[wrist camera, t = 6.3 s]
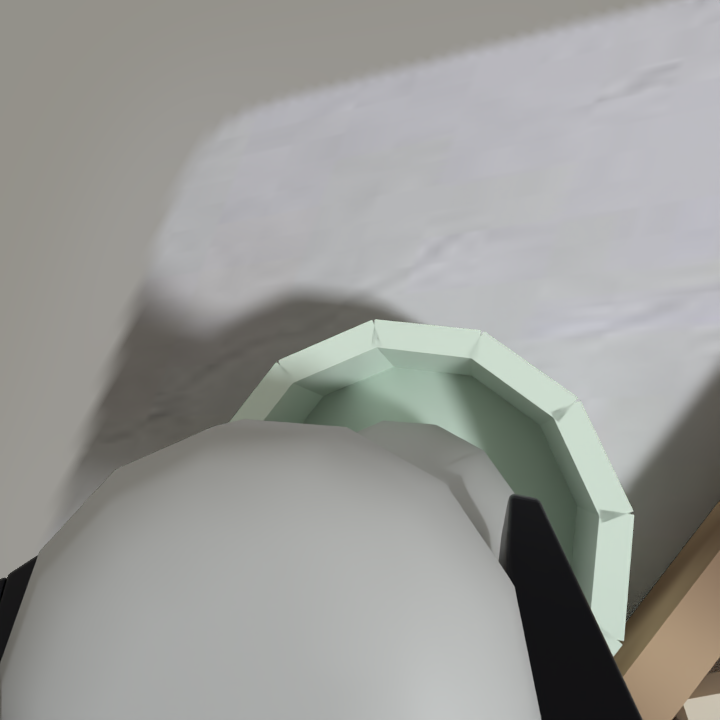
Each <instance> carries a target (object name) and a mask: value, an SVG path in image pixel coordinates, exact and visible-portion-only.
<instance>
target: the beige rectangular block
mask: <svg viewBox="0 0 720 720" xmlns="http://www.w3.org/2000/svg"><path fill="white" fill-rule="evenodd" d="M676 716H677V719H678V720H720V671H719V672H713V673H708V674H707V675H706V676H705V677H704V678H703V680H702V681H701V682H700V684H699V685H698V686H697V688H696V689H695V690H694V692H693V693H692V694H691V696H690V697H689V698H688V699H687V701H686V702H685V703H684V705H683V706H682V707H681V709H680V710H679V711H678V713H677V714H676Z"/></svg>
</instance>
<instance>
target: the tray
mask: <svg viewBox="0 0 720 720" xmlns="http://www.w3.org/2000/svg"><path fill="white" fill-rule="evenodd" d="M619 641H620V642H621V643H622V644H623V645H622V646H621V648H620V649H619V650H618V651H617V653H616V654H615V655H614V659H615V661H616V664H617V666H618V668H619V670H620V672H621V674H622V676H623V678H624V681H625V683H626V685H627V687H628V689H629V691H630V693H631V696H632V698H633V700H634V702H635V704H636V706H637V708H638V710H639V713H640V715H641V717H642V719H643V720H672V719H673V718H674V717H675V715H676V714H677V713H678V711H679V710H680V709H681V707H682V706H683V705H684V703H685V702H686V701H687V699H688V698H689V697H690V696H691V694H692V693H693V692H694V690H695V689H696V688H697V686H698V685H699V684H700V682H701V681H702V680H703V678H704V677H705V676H706V675H707V673H708V672H709V671H710V669H711V668H712V667H713V665H714V664H715V663H716V661H717V660H718V659H719V658H720V501H719V502H718V503H717V504H716V506H715V507H714V508H713V510H712V511H711V512H710V514H709V515H708V516H707V518H706V519H705V520H704V521H703V523H702V524H701V525H700V527H699V528H698V529H697V531H696V532H695V533H694V535H693V536H692V537H691V538H690V540H689V541H688V542H687V544H686V545H685V546H684V548H683V549H682V550H681V551H680V553H679V554H678V555H677V557H676V558H675V559H674V561H673V562H672V563H671V565H670V566H669V567H668V568H667V570H666V571H665V572H664V574H663V575H662V576H661V578H660V579H659V580H658V582H657V583H656V584H655V585H654V587H653V588H652V589H651V591H650V592H649V593H648V595H647V596H646V597H645V598H644V600H643V601H642V602H641V604H640V605H639V606H638V608H637V609H636V610H635V612H634V613H633V614H632V615H631V617H630V618H629V619H628V621H627V622H626V623H625V635H624V641H621V640H619Z"/></svg>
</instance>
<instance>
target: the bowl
mask: <svg viewBox="0 0 720 720" xmlns="http://www.w3.org/2000/svg"><path fill="white" fill-rule="evenodd" d="M279 363H280V364H279ZM279 363H277V362H276V363H275V364H274V365H273V367H272V368H271V369H270V370H269V372H268V373H267V374H266V375H265V377H264V378H263V379H262V381H261V382H260V383H259V384H258V386H257V387H256V388H255V390H254V391H253V392H252V393H251V395H250V396H249V397H248V398H247V400H246V401H245V402H244V404H243V405H242V406H241V407H240V409H239V410H238V411H237V413H236V414H235V415H234V416H233V418H232V419H231V420H230V422H233V421H238V420H242V419H250V420H263V421H276V422H289V423H301V424H314V425H327V426H340V427H347V428H349V429H351V430H353V431H354V432H358V431H360V430H362V429H365V428H367V427H369V426H372V425H374V424H376V423H379V422H381V421H396V422H409V423H422V424H435V425H438V426H440V427H441V428H443V429H445V430H447V431H449V432H451V433H452V434H454V435H456V436H458V437H460V438H462V439H463V440H465V441H467V442H469V443H471V444H473V445H474V446H476V447H478V448H480V449H482V450H484V452H485V453H486V454H487V456H488V457H489V459H490V460H491V461H492V463H493V464H494V465H495V467H496V468H497V470H498V471H499V472H500V474H501V475H502V477H503V478H504V479H505V481H506V482H507V484H508V485H509V486H510V488H511V489H512V491H513V492H514V493H515V494H518V495H523V496H529V497H534V498H537V499H538V500H539V501H540V502H541V504H542V506H543V508H544V510H545V512H546V514H547V517H548V519H549V521H550V523H551V525H552V527H553V529H554V531H555V534H556V536H557V538H558V540H559V542H560V544H561V546H562V548H563V551H564V553H565V555H566V557H567V559H568V561H569V563H570V566H571V568H572V570H573V572H574V574H575V576H576V578H577V580H578V583H579V585H580V587H581V589H582V591H583V593H584V595H585V597H586V600H587V602H588V604H589V606H590V608H591V610H592V612H593V615H594V617H595V619H596V621H597V623H598V625H599V627H600V629H601V632H602V634H603V636H604V638H605V640H606V642H607V644H608V647H609V649H610V651H611V653H612V655H613V657H614V655H615V654H616V653H617V651H618V650H619V649H620V648H621V646H622V645H623V644H622V643H621V642H620V641H619V640H621V641H624V635H625V623H626V611H627V599H628V586H629V574H630V562H631V550H632V538H633V525H634V515H633V514H630V512H633V509H632V507H631V505H630V503H629V501H628V498H627V496H626V494H625V492H624V490H623V488H622V486H621V484H620V482H619V480H618V478H617V476H616V473H615V471H614V469H613V467H612V465H611V463H610V461H609V459H608V457H607V455H606V453H605V451H604V448H603V446H602V444H601V442H600V440H599V438H598V436H597V434H596V432H595V430H594V428H593V426H592V423H591V421H590V419H589V417H588V415H587V413H586V411H585V409H584V407H583V405H582V403H581V401H577V402H575V401H576V400H577V398H578V397H576V396H575V395H574V394H572V393H571V392H569V391H568V390H567V389H565V388H564V387H562V386H561V385H559V384H558V383H557V382H555V381H554V380H552V379H551V378H550V377H548V376H547V375H545V374H544V373H542V372H541V371H540V370H538V369H537V368H535V367H534V366H533V365H531V364H530V363H528V362H527V361H525V360H524V359H523V358H521V357H520V356H518V355H517V354H516V353H514V352H513V351H511V350H510V349H508V348H507V347H506V346H504V345H503V344H501V343H500V342H498V341H497V340H496V339H494V338H493V337H491V336H490V335H489V334H487V333H486V332H483V334H482V335H481V330H474V329H464V328H454V327H445V326H435V325H426V324H416V323H407V322H397V321H387V320H378V319H375V323H374V322H373V320H370V321H368V322H366V323H363V324H361V325H359V326H356V327H354V328H352V329H349V330H347V331H345V332H342V333H340V334H338V335H335V336H333V337H331V338H329V339H326V340H324V341H322V342H319V343H317V344H315V345H312V346H310V347H308V348H305V349H303V350H301V351H298V352H296V353H294V354H291V355H289V356H287V357H285V358H282V359H280V360H279ZM574 402H575V403H574Z"/></svg>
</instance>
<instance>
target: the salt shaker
mask: <svg viewBox="0 0 720 720" xmlns="http://www.w3.org/2000/svg"><path fill="white" fill-rule="evenodd" d="M512 494H515V493H514V492H513V491H512V489H511V488H510V486H509V485H508V484H507V482H506V481H505V479H504V478H503V477H502V475H501V474H500V472H499V471H498V470H497V468H496V467H495V465H494V464H493V463H492V461H491V460H490V459H489V457H488V456H487V454H486V453H485V452H484V450H482V449H480V448H478V447H476V446H474V445H473V444H471V443H469V442H467V441H465V440H463V439H462V438H460V437H458V436H456V435H454V434H452V433H451V432H449V431H447V430H445V429H443V428H441V427H440V426H438V425H435V424H422V423H409V422H396V421H381V422H379V423H376V424H374V425H372V426H369V427H367V428H365V429H362V430H360V431H358V432H354V431H353V430H351V429H349V428H347V427H340V426H327V425H314V424H301V423H289V422H276V421H263V420H250V419H242V420H238V421H233V422H229V423H225V424H221V425H216V426H213V427H211V428H208V429H206V430H204V431H202V432H199V433H197V434H195V435H193V436H190V437H188V438H186V439H183V440H181V441H179V442H177V443H174V444H172V445H170V446H167V447H165V448H163V449H161V450H158V451H156V452H154V453H152V454H149V455H147V456H145V457H142V458H140V459H138V460H136V461H133V462H131V463H129V464H127V465H124V466H122V467H120V468H117V469H115V470H114V471H113V473H112V474H111V475H110V476H109V477H108V478H107V479H106V480H105V481H104V482H103V483H102V484H101V486H100V487H99V488H98V489H97V490H96V491H95V492H94V493H93V494H92V495H91V496H90V497H89V499H88V500H87V501H86V502H85V503H84V504H83V505H82V506H81V507H80V508H79V509H78V510H77V512H76V513H75V514H74V515H73V516H72V517H71V518H70V519H69V520H68V521H67V522H66V523H65V525H64V526H63V527H62V528H61V529H60V530H59V531H58V532H57V533H56V534H55V535H54V536H53V537H52V539H51V540H50V541H49V542H48V543H47V544H46V545H45V546H44V547H43V548H42V549H41V550H40V552H39V554H38V557H37V560H36V563H35V566H34V569H33V571H32V574H31V577H30V580H29V583H28V586H27V588H26V591H25V594H24V597H23V600H22V603H21V606H20V608H19V611H18V614H17V617H16V620H15V623H14V625H13V628H12V631H11V634H10V637H9V640H8V642H7V645H6V648H5V651H4V654H3V657H2V659H1V662H0V720H541V715H540V710H539V705H538V700H537V695H536V690H535V686H534V681H533V676H532V671H531V666H530V661H529V656H528V651H527V646H526V641H525V636H524V631H523V626H522V621H521V616H520V611H519V606H518V601H517V596H516V591H515V587H514V585H513V583H512V582H511V580H510V578H509V577H508V575H507V574H506V572H505V571H504V569H503V568H502V566H501V565H500V563H499V562H498V561H499V552H500V543H501V536H502V529H503V524H504V519H505V514H506V509H507V503H508V499H509V496H510V495H512Z"/></svg>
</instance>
